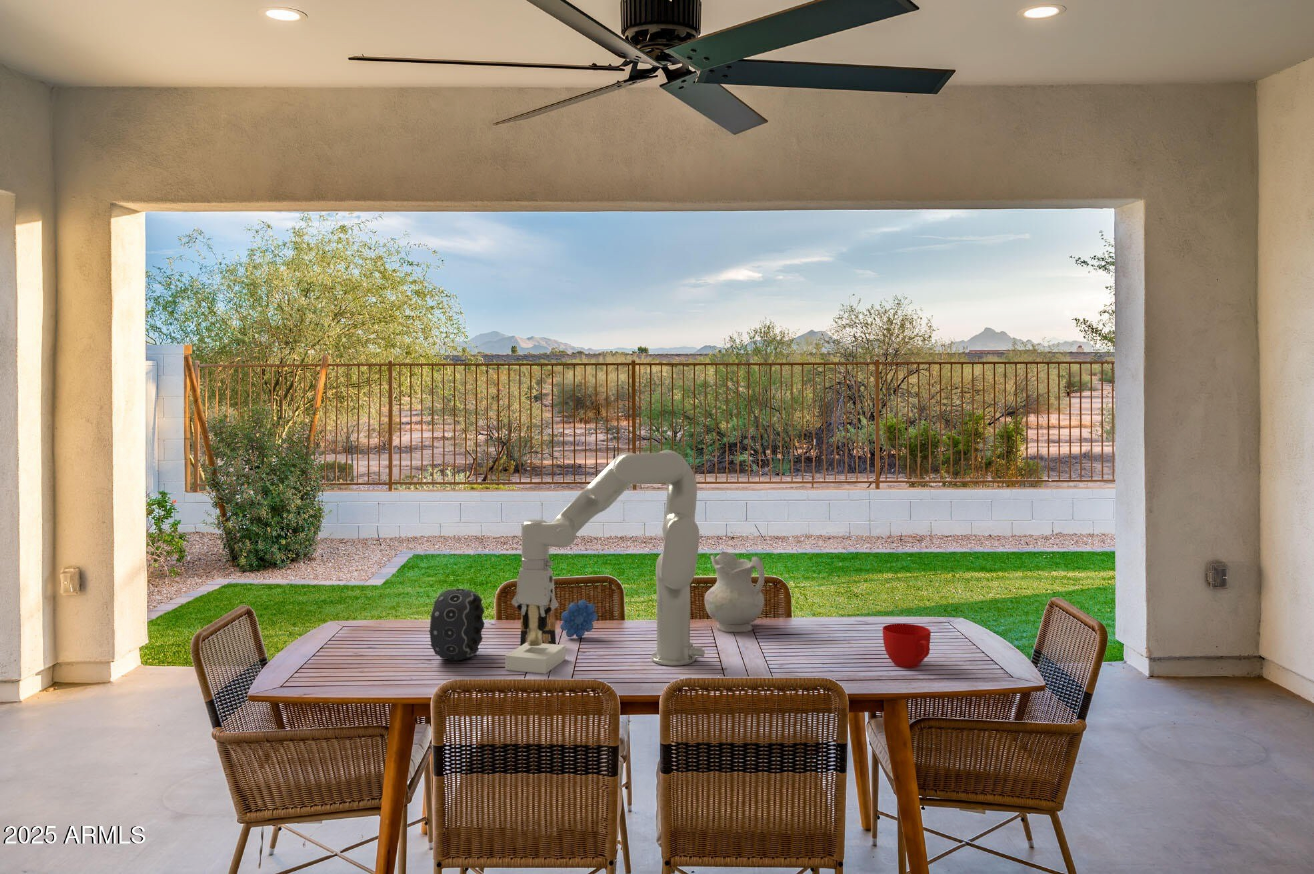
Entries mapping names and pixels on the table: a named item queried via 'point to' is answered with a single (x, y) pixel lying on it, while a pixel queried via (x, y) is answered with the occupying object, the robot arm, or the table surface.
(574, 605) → the blue lumpy cluster
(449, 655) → the dark grey toy tire
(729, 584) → the ceramic pitcher
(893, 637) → the ceramic cup
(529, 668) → the white square socket block
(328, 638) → the table surface
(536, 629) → the gold cylindrical peg
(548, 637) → the ammunition clip
